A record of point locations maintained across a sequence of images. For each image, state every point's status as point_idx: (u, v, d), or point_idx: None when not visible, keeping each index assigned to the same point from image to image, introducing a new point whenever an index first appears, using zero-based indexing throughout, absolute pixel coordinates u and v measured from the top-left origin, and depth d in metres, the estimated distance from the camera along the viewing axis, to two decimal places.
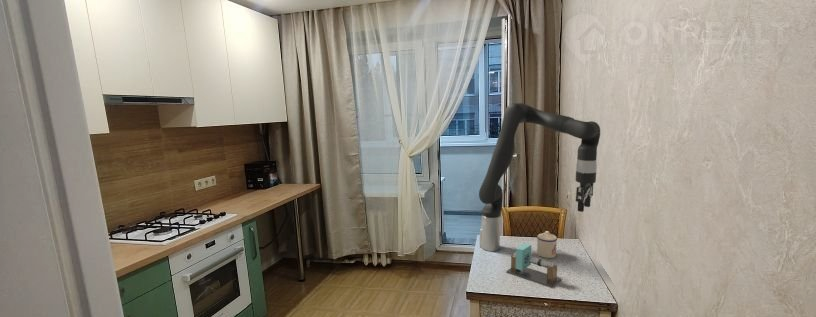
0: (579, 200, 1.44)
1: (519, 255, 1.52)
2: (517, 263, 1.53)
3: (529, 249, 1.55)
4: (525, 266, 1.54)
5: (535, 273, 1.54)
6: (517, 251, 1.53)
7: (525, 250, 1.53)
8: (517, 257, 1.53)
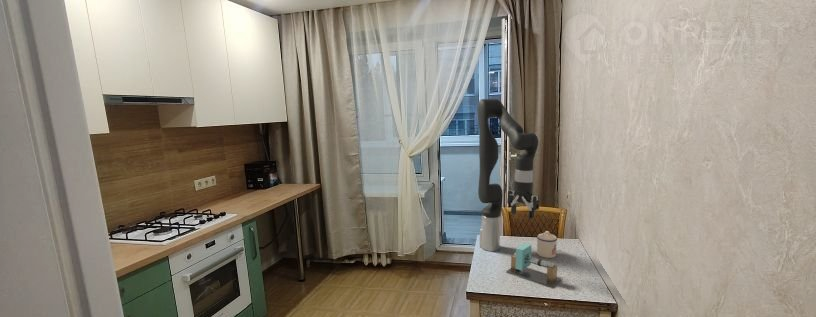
0: (537, 208, 1.50)
1: (519, 255, 1.52)
2: (517, 263, 1.53)
3: (529, 249, 1.55)
4: (525, 266, 1.54)
5: (535, 273, 1.54)
6: (517, 251, 1.53)
7: (525, 250, 1.53)
8: (517, 257, 1.53)
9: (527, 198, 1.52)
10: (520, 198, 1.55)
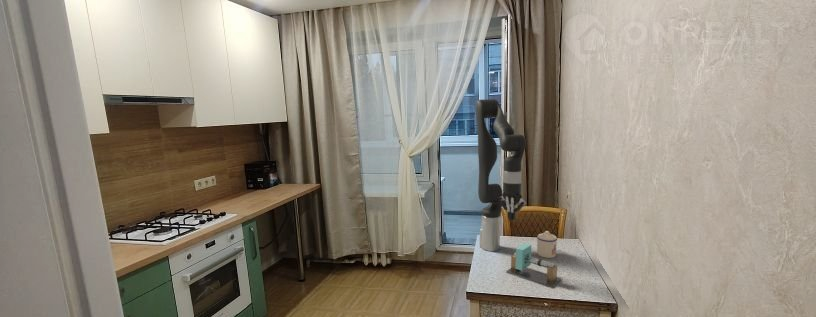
0: (518, 210, 1.55)
1: (519, 255, 1.52)
2: (517, 263, 1.53)
3: (529, 249, 1.55)
4: (525, 266, 1.54)
5: (535, 273, 1.54)
6: (517, 251, 1.53)
7: (525, 250, 1.53)
8: (517, 257, 1.53)
9: (515, 201, 1.54)
10: (509, 199, 1.56)
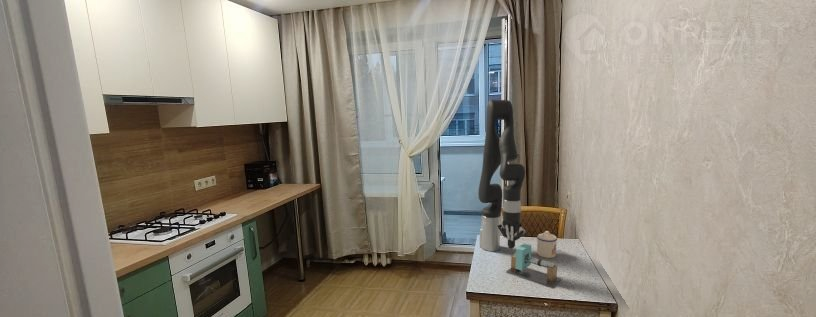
0: (518, 238, 1.56)
1: (519, 255, 1.52)
2: (517, 263, 1.53)
3: (529, 249, 1.55)
4: (525, 266, 1.54)
5: (535, 273, 1.54)
6: (517, 251, 1.53)
7: (525, 250, 1.53)
8: (517, 257, 1.53)
9: (515, 230, 1.55)
10: (509, 228, 1.57)
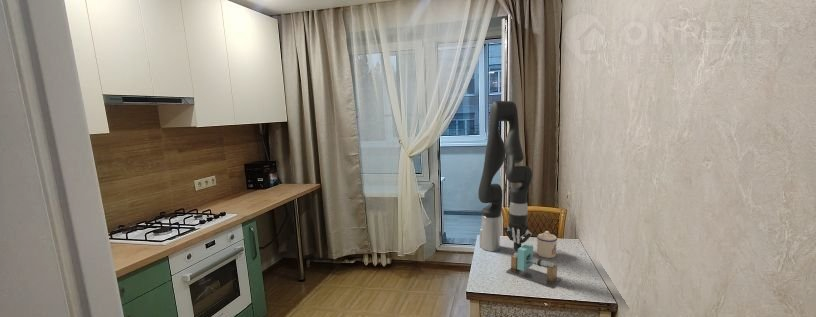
0: (524, 241, 1.54)
1: (521, 256, 1.52)
2: (519, 264, 1.53)
3: (531, 249, 1.55)
4: (527, 267, 1.53)
5: (535, 273, 1.54)
6: (519, 252, 1.52)
7: (527, 251, 1.52)
8: (519, 258, 1.52)
9: (521, 233, 1.53)
10: (515, 230, 1.55)
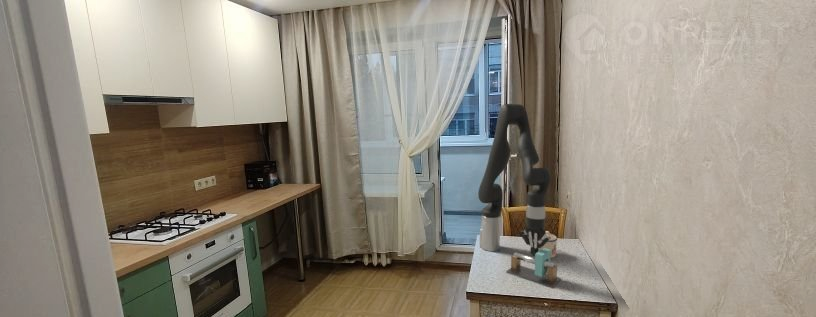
0: (541, 246, 1.49)
1: (538, 261, 1.46)
2: (536, 269, 1.47)
3: (548, 254, 1.50)
4: (544, 272, 1.48)
5: None
6: (536, 257, 1.47)
7: (544, 256, 1.47)
8: (536, 263, 1.47)
9: (539, 237, 1.48)
10: (532, 234, 1.50)
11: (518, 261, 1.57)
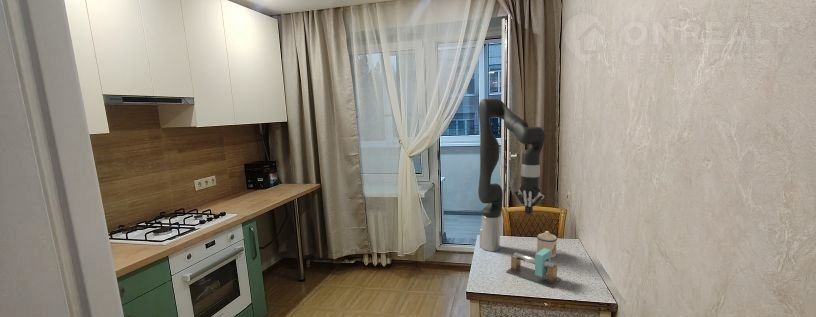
0: (536, 204, 1.51)
1: (539, 261, 1.46)
2: (536, 269, 1.47)
3: (549, 254, 1.49)
4: (545, 272, 1.48)
5: None
6: (537, 257, 1.47)
7: (545, 256, 1.47)
8: (537, 263, 1.47)
9: (533, 195, 1.50)
10: (527, 193, 1.52)
11: (518, 261, 1.57)
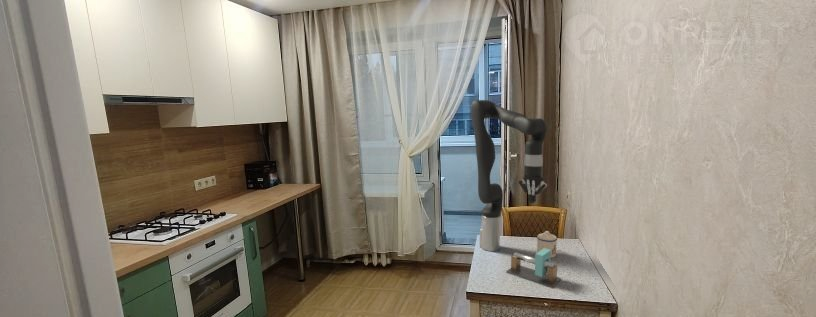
0: (539, 193, 1.58)
1: (539, 261, 1.46)
2: (536, 269, 1.47)
3: (549, 254, 1.49)
4: (545, 272, 1.48)
5: None
6: (537, 257, 1.47)
7: (545, 256, 1.47)
8: (537, 263, 1.47)
9: (536, 184, 1.57)
10: (530, 182, 1.59)
11: (518, 261, 1.57)
